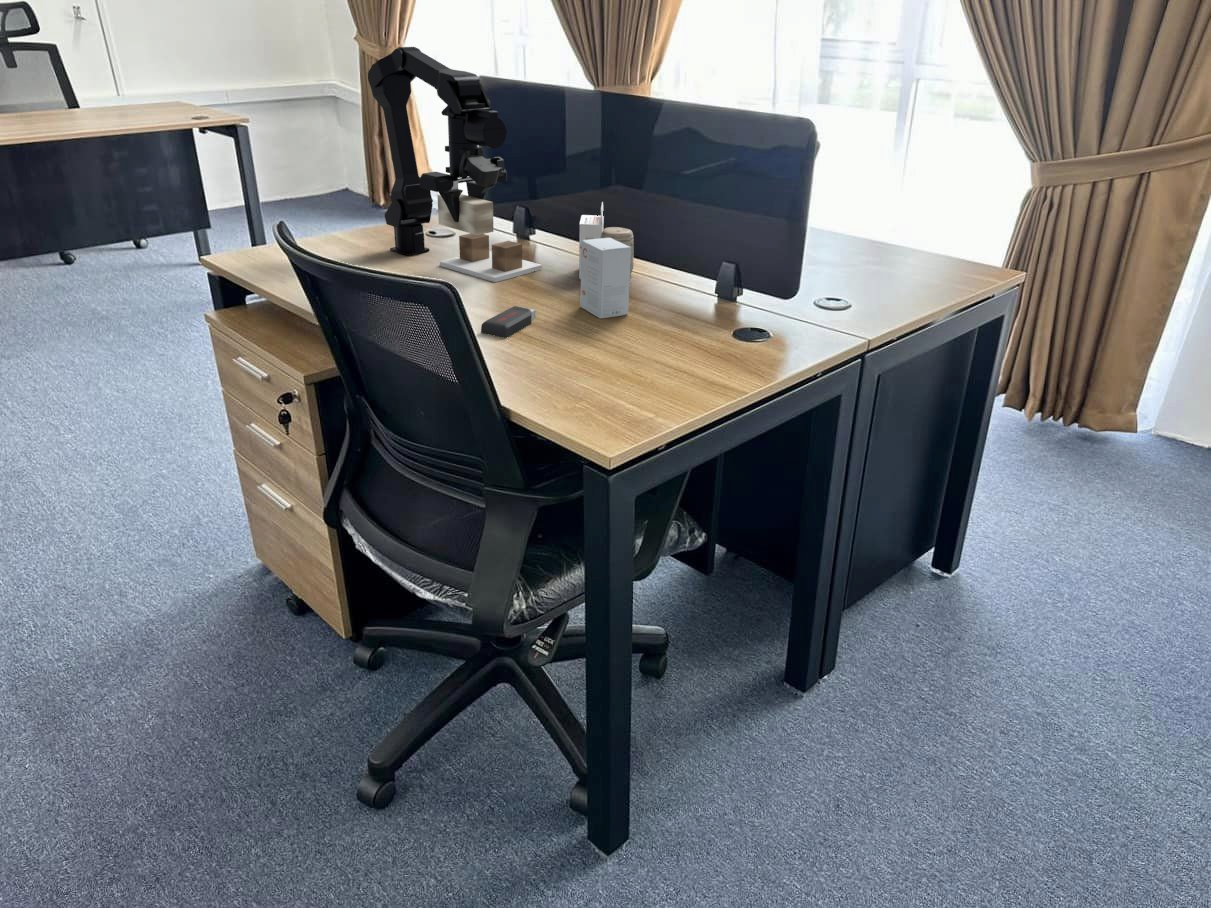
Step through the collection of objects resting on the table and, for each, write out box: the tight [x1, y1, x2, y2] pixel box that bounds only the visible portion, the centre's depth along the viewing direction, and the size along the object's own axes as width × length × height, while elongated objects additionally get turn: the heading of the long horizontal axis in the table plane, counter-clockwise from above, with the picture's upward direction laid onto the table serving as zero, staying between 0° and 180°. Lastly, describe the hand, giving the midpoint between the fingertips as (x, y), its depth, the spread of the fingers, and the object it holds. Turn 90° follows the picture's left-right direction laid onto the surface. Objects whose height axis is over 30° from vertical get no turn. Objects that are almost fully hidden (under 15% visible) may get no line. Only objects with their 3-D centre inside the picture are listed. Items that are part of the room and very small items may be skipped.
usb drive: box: [480, 305, 536, 339], centre depth 169 cm, size 5×12×3 cm, turn 154°
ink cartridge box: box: [578, 201, 605, 280], centre depth 198 cm, size 9×5×15 cm, turn 179°
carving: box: [601, 226, 635, 286], centre depth 190 cm, size 6×8×12 cm
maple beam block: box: [437, 193, 494, 235], centre depth 193 cm, size 12×4×6 cm, turn 48°
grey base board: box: [439, 250, 543, 283], centre depth 202 cm, size 17×14×1 cm
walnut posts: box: [458, 233, 523, 272], centre depth 201 cm, size 14×5×5 cm, turn 50°
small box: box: [579, 238, 631, 319], centre depth 176 cm, size 8×6×13 cm
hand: (465, 220), depth 194 cm, fingers closed on maple beam block, 4 cm apart
